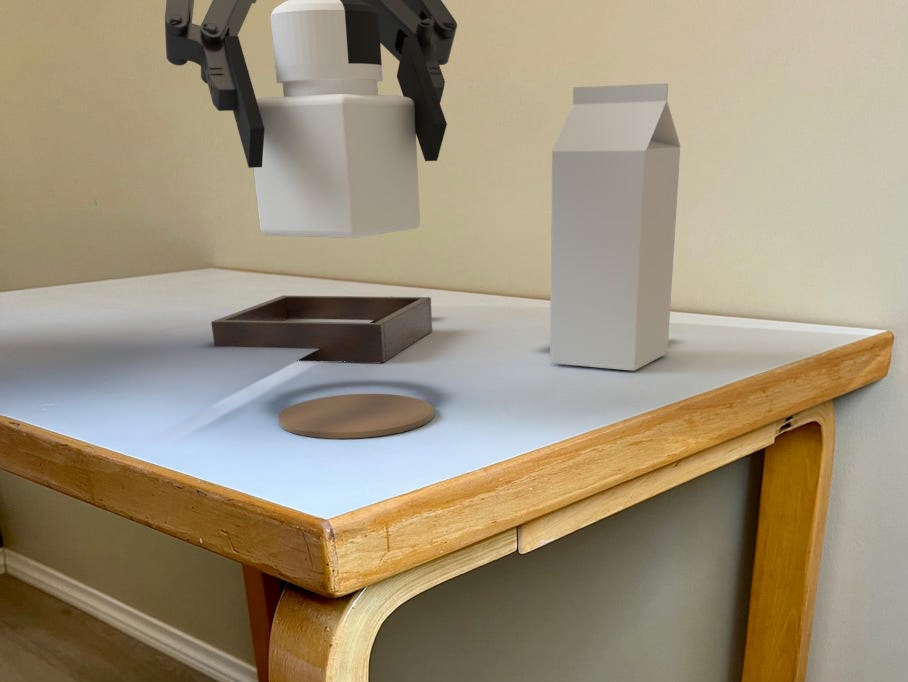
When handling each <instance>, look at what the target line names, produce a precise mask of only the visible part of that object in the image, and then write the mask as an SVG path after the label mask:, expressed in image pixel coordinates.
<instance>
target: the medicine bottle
mask: <svg viewBox="0 0 908 682" xmlns="http://www.w3.org/2000/svg"><path fill="white" fill-rule="evenodd" d="M270 25H271V27H270V28H271V37H272V45H273V46H272V47H273V56H274V68H275V78H276V84H282V91H283V96H269V97H268V96H267V97H259V98H256V100H257V104H258V107H259V111H260V114H261V118H262V121H263V125H264V128H265V129H264V145H263V160H262V167H254V168H252V171H253V178H254V179H253V180H254V187H255V196H256V205H257V206H256V207H257V215H258V223H259V230H260V233H261V234H263V235H264V236H273V237H274V236H275V237H297V238H298V237H299V238H301V237H302V238H303V237H304V238H329V239H330V238H331V239H332V238H333V239H358V238H359V239H360V238H363V237H370V236H376V235H377V236H378V235H382V234H389V233H395V232H402V231H407V230H412V229H413V230H414V229H417V228H418V227H419V226H420V224H421V215H420V213H421V212H420V194H419V193H420V192H419V172H418V151H417V150H418V147H417V135H416V124H415V104H414V101H413V100H412V99H411V98H408V97H403V95H397V94H395V95H394V94H393V95H392V94H379V89H378V88H379V87H378V82H382V81H383V69H382V68H383V66H382V65H383V64H382V63H383V62H382V49H381V46H382V44H381V43H380V28H379V14H378V13H377V11H376V10H375V9H374V7H372V6H370V5H369V4H367V3H365V2H363V1H361V0H286V1H284V2H282V3H281V4H279V5H277V6H276V7H274V8H273V10H272V11H271V14H270Z"/></svg>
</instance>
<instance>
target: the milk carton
mask: <svg viewBox="0 0 908 682" xmlns="http://www.w3.org/2000/svg"><path fill="white" fill-rule="evenodd" d="M668 92H669V83H667V82H666V83H665V82H664V83H645V84H622V85H621V84H620V85H599V86H598V85H597V86H596V85H594V86H579V87H578V86H576V87H575V86H574V87H573V88H572V105H571V107H570V110H569V112H568V113H567V117H566V118H565V120H564V123H563V125H562V128H561V130H560V132H559V134H558V137H557V139H556V140H555V143H554V145H553V147H552V150H551V228H550V230H551V231H550V232H551V236H550V315H549V316H550V317H549V318H550V325H549V330H550V331H549V340H550V341H549V362H550V364H556V365H557V364H558V365H568V366H578V367H579V366H580V367H589V368H598V369H599V368H600V369H611V370H623V371H636V370H638V369H641V368H642V367H644V366H646V365H648V364H649V363H652V362H653V361H655V360H657V359H659V358H661V357H663V356H664V355H666V354H667V353H668V351H669V350H668V349H669V335H670V334H669V333H670V318H671V317H670V316H671V304H672V303H671V301H672V286H673V272H674V271H673V270H674V257H675V256H674V253H675V240H676V239H675V238H676V223H677V208H678V207H677V206H678V194H679V193H678V190H679V178H680V177H679V174H680V158H681V143H680V140H679V137H678V133H677V129H676V127H675V122H674V120H673V119H674V118H673V116H672V113H671V112H672V111H671V108H670V105H669V102H668Z"/></svg>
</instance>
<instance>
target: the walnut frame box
mask: <svg viewBox="0 0 908 682" xmlns="http://www.w3.org/2000/svg"><path fill="white" fill-rule="evenodd" d="M289 320H294V321H289ZM295 320H340V321H295ZM343 320H345V322H344V321H343ZM347 320H348V321H349V320H350V322H347ZM341 321H343V322H341ZM351 321H369V322H351ZM211 330H212V337H213V345H214V347H225V348H268V349H308V350H309V349H310V350H311V349H312V350H314V351H312V352H311V353H309V354H307V355H305V356H303V357H301V358H299V359H297V360H296V362H320V361H342V362H341V363H358V362H384V363H385V362H387V361H388V360H390V359H392V358H393V357H395V356H396V355H398V354H399V353H401V352H402V351H404V350H405V349H407V348H409V347H410V346H411V345H413V344H414V343H416V342H418V341H419V340H421V339H422V338H424V337H425V336H427V335H428V334H430V333H431V332H432V331H433V315H432V297H430V296H365V295H363V296H362V295H361V296H360V295H359V296H358V295H357V296H356V295H281V296H277V297H275V298H271V299H269V300H266V301H264V302H261V303H258V304H256V305H253V306H251V307H247V308H245V309H242V310H239V311H237V312H233V313H231V314H228V315H226V316H223V317H220V318H217V319H215V320H213V321H212V320H211ZM409 345H410V346H409ZM406 347H407V348H406ZM404 348H405V349H404ZM403 349H404V350H403ZM401 350H402V351H401ZM400 351H401V352H400ZM398 352H399V353H398ZM395 354H396V355H395ZM392 356H393V357H392ZM389 358H390V359H389ZM298 360H299V361H298ZM386 360H387V361H386ZM344 361H345V362H344Z"/></svg>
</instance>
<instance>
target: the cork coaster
mask: <svg viewBox="0 0 908 682" xmlns="http://www.w3.org/2000/svg"><path fill="white" fill-rule="evenodd" d="M434 410H435V409H434V407H433V405H432V404H431V403H429V402H428V401H425V400H423V399H420V398H418V397H412V396H406V395H401V394H391V393H352V394H339V395H331V396H323V397H317V398H313V399H308V400H304V401H301V402H298V403H295V404H292V405H290V406H287V407H286V408H284V409H282V410H281V411H280V412H279V413H278V415H277V420H278V425H279V426H280V428H282V429H283V430H284V431H286V432H289V433H292V434H295V435H300V436H304V437H310V438H320V439H339V440H342V439H345V440H346V439H365V438H377V437H382V436H384V437H385V436H389V435H395V434H399V433H404V432H409V431H411V430H414V429H418V428H420V427H423V426H424V425H426V424H428V423H430V422H431V421H432V420H433V418H434V416H435V411H434Z"/></svg>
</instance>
